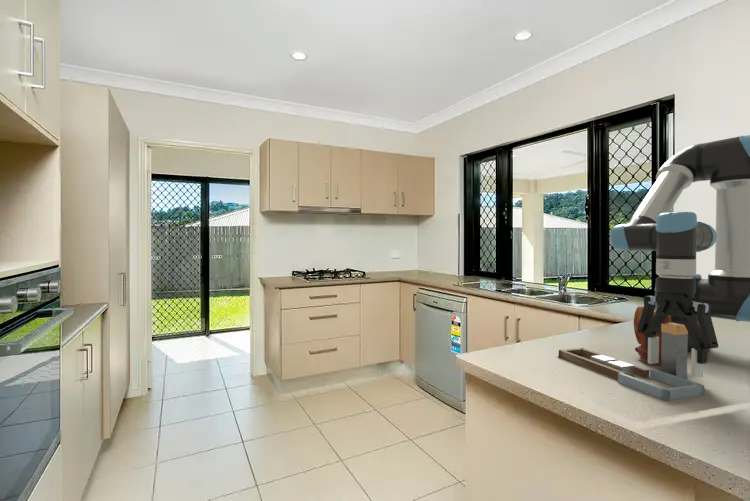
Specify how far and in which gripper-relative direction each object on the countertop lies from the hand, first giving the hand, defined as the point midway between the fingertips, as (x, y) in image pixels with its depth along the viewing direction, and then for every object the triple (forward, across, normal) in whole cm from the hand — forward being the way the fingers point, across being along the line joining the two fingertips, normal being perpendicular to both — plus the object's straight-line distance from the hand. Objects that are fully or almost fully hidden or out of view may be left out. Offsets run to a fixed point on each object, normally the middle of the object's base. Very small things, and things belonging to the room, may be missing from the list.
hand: (673, 369), depth 90 cm
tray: (+3, +4, -10) cm, 11 cm away
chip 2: (+2, -6, -10) cm, 11 cm away
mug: (+3, -13, +10) cm, 16 cm away
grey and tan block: (+3, 0, 0) cm, 3 cm away
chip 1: (+2, -11, -10) cm, 15 cm away
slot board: (+3, -12, -10) cm, 16 cm away
